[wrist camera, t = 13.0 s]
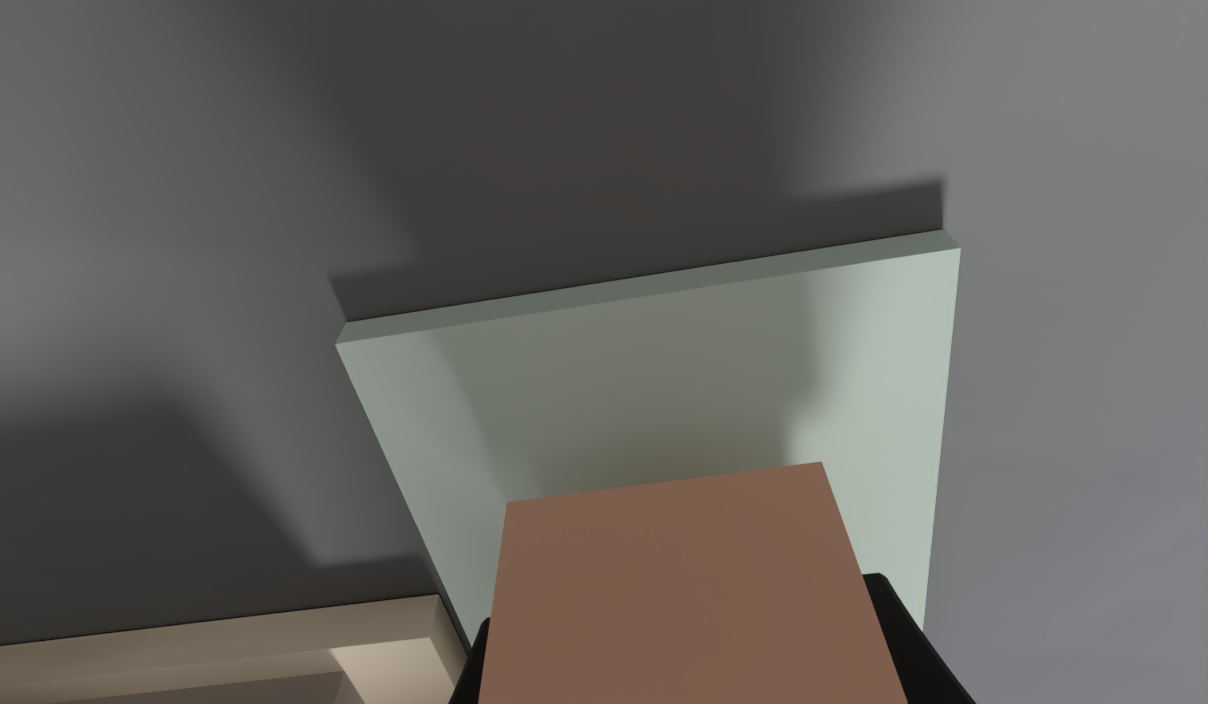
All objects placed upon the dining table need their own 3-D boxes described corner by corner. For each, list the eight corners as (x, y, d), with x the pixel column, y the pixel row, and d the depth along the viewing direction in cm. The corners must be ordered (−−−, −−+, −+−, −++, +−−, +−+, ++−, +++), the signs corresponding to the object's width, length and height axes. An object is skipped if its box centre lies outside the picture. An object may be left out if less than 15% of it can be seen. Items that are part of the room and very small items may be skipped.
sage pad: (911, 618, 16) (921, 643, 15) (493, 663, 17) (490, 689, 16) (944, 229, 11) (961, 247, 10) (345, 322, 12) (334, 344, 11)
